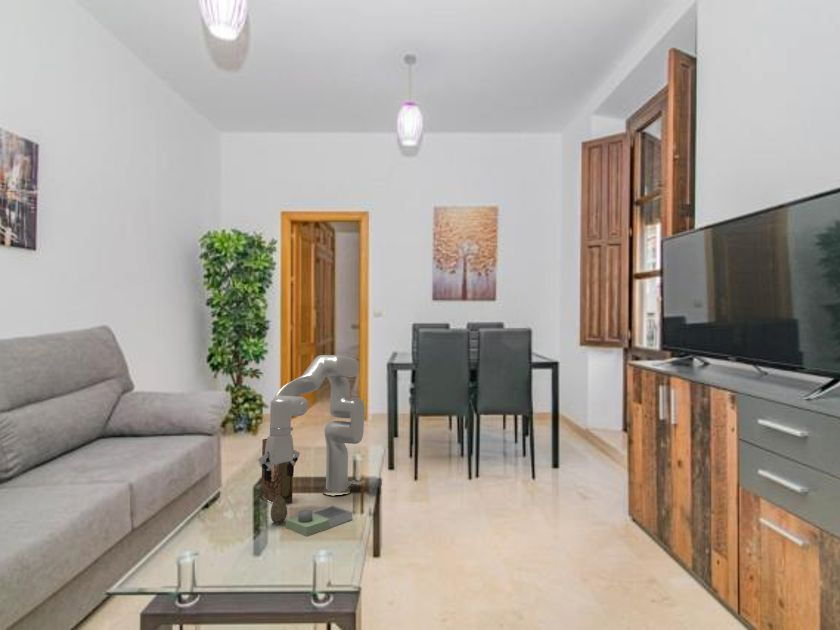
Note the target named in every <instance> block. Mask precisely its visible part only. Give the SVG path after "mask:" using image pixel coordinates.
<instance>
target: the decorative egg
mask: <svg viewBox="0 0 840 630" xmlns="http://www.w3.org/2000/svg"><path fill="white" fill-rule="evenodd" d="M287 515H288V507H287V504H286V503H285V500H284V498H283V497H282V496H277V497H276V498H275V500H274V501H273V504H272V503H271V508H270V519H271V521H272V522H273V523H274V524H277V525H281V524H282V523H283V522H284V523H285V521H286V519H287V517H288V516H287Z"/></svg>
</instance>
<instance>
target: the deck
mask: <svg viewBox="0 0 840 630" xmlns="http://www.w3.org/2000/svg"><path fill="white" fill-rule="evenodd" d="M312 512H313V510H311V509H301V510H299V511H298V512H297V515H296V516H292V517H289V518H286V519H285V529H287V530H289V531H292V532H295V533H298V534H299V535H303V536H304V537H308V536H311V535H314V534H317V533H319V532H320V533H321V532H323V531H326V530H328V529H330V528H329V520H328V519H325V518H322V517H319V516H316V515H314V514H312Z"/></svg>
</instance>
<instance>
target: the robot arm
mask: <svg viewBox="0 0 840 630" xmlns="http://www.w3.org/2000/svg"><path fill="white" fill-rule="evenodd" d="M359 371H360V364H359V362H358V360H357V359H356V358H353V357H349V356H343V355H337V354H322V355H321V354H320V355H317V356H315V358H314V359H313V360H312V362H311V363H310V364H309V366H308V367H307V368H306V370H304V372H303V374H302V375H300V376H298V377H297V378H295V379H293V380H291V381H290V382H287V383H286V384H285V385H283V386H282V387H281V388H280V389H279V391H278V392H276V394H275V395H274V397H273V399H271V400H270V409H269V410H270V411H269V413H270V414H269V435H268V436H267V438H266V439H267V441H266V447H265V455H263V456H261V457H259V458H258V460H257V461H258V464H259V466H260V467H261V469H262V468H263V470H264V479H265V481H267V482H271V470H270V469H271V467H272V466H273V465H275V464H280V463H285V462H287V463H288V464H289V465H287V476H290V477H294V473H295V471H294V470H295V469H294V468H295V465H296V463H297V462H298V460H299V457H300V454H301V453H300V452H299V451H297V450H295V449H294V441H293V435H292V434H291V432H293V430H294V428H293V427H292V425H291V424H292V417H301V416H304V415H306V413H307V412H308V410H309V406H310V405H309V402H308V399H306V398H305V397H303V396H302V395H305V394H309V393H313V392H315V391H317V390H318V389H319V388H320V387H321V385H322V384H323V382H324V381H325V380H326V378H327V380H328V381H329V384H330V397H329V398H330V400H329V414H330V416H331V417H334V418H339V419H350V421H345V420H331V421H329V422H327V424H326V425H325V427H324V437H325V443H326V459H325V460H326V462H325V463H326V471H325V472H326V473H325V474H326V476H325V488H326V489H327V490H328V491H332V492H341V491H345V490H346V489H347V488H348V487H349V486H350V485H351V484H353V483H355V482H356V480H349V479H348V477H349V476H348V475H349V474H348V473H349V472H348V471H349V452H348V447H347V446H346V444H352V445H356V444H359V443H360V442H361V441H362V440H363V437H364V431H365V429H364V427H365V412H366V411H365V403H364V401H363V399H362V398H360V397H355V396H351V395H350V391H351V389H350V388H351V386H350V383H349V380H348V379H347V378H355V377H356V376H357V375H358V373H359ZM264 461H265V463H266V464H265V463H264ZM355 484H356V483H355ZM351 486H352V485H351ZM351 486H350V487H351ZM350 487H349V488H350Z"/></svg>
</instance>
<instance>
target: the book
mask: <svg viewBox="0 0 840 630" xmlns="http://www.w3.org/2000/svg"><path fill="white" fill-rule="evenodd" d="M266 441H267V438H264V439H262V442H261V443H262V446H261V447H262V450H261V454H262V456H263V455H265V447H266ZM262 456H261V457H262ZM264 463H265V461H264ZM265 464H266V463H265ZM287 465H289V464H288V463H287V462H285V463H280V464H275V465H273V466H272V467H271V469H270V470H271V482H267V481H265V479H264V470H263V468H262V467H261V484H260V485H261V492H260V493H261V494H260V495H262V496H264V497H265V498H266V499H267V500H269V501H271V502H273V501H274V500H275V498H276V497H277V496H282V497H283V498H284V500H285V503H287V504H292V503H293V477H294V476H293V477H290V476H287Z"/></svg>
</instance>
